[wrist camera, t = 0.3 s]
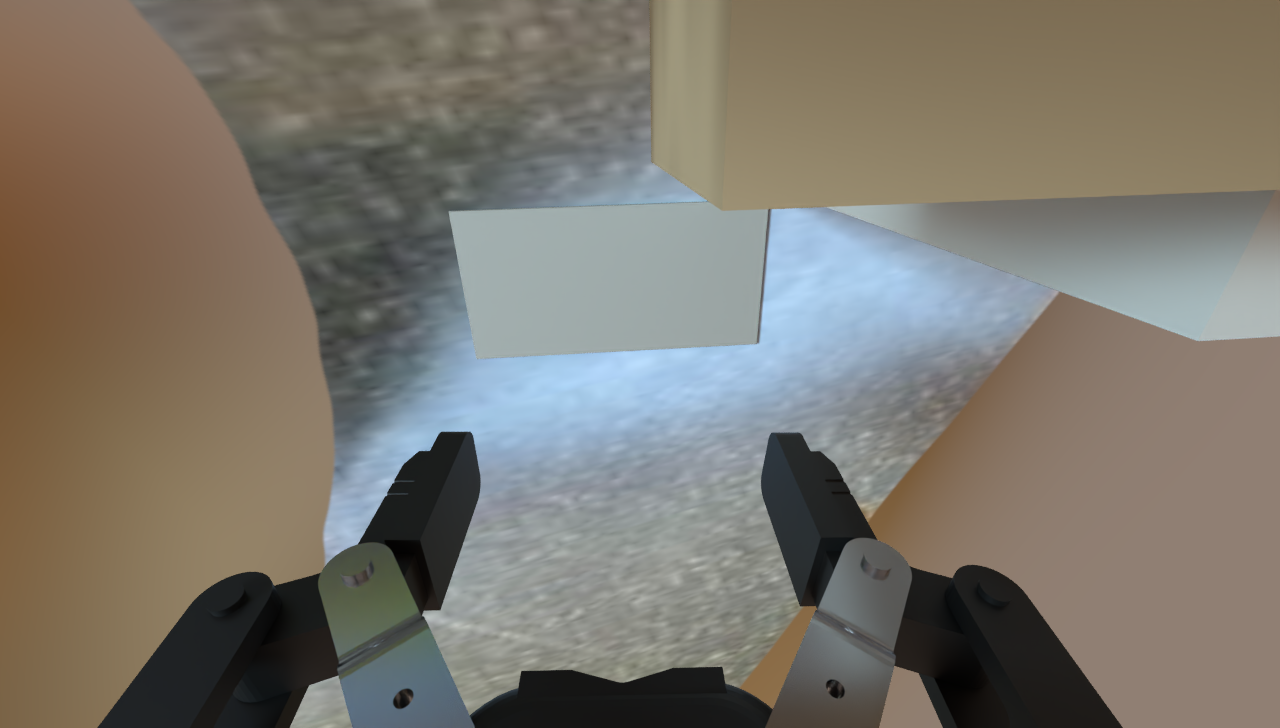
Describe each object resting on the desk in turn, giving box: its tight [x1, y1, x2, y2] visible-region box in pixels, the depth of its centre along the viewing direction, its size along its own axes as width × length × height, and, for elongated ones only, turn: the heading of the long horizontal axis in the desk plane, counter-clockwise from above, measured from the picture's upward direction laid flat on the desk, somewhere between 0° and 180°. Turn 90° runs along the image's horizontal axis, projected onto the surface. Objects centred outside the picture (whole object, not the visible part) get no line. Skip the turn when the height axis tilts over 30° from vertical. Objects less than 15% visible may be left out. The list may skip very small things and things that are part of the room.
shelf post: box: [827, 190, 1280, 341], centre depth 21 cm, size 12×12×32 cm
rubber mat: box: [449, 201, 768, 359], centre depth 40 cm, size 12×24×1 cm, turn 91°
